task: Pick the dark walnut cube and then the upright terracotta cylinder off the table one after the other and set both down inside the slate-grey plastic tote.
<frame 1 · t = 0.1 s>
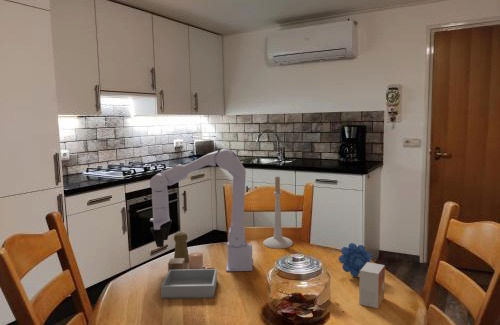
hand: (162, 243, 143), 10 cm above the table, fingers open, 7 cm apart
blue flower: (356, 278, 134), on the table
candlestick: (278, 244, 171), on the table
tote: (190, 289, 128), on the table
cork: (181, 261, 153), on the table
walnut cube: (176, 274, 140), on the table
small box: (371, 301, 118), on the table
terracotta cylinder: (196, 273, 140), on the table
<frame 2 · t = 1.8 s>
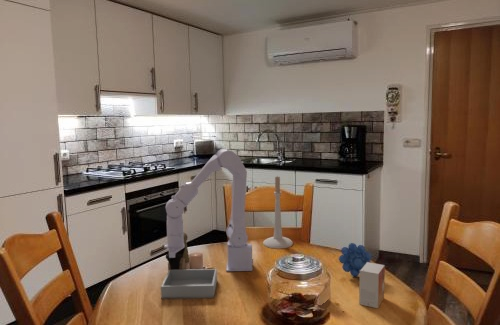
hand: (176, 270, 140), 1 cm above the table, fingers closed on walnut cube, 5 cm apart
walnut cube: (176, 273, 140), on the table, touching gripper
everything else where it was.
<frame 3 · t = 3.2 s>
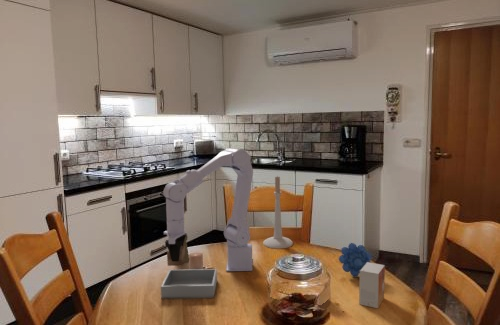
hand: (176, 257, 132), 8 cm above the table, fingers closed on walnut cube, 5 cm apart
walnut cube: (176, 262, 133), point 7 cm above the table, touching gripper
everything else where it was.
when the fingers open (3 cm above the table, at t = 5.0 s): walnut cube drops 1 cm, resting on tote.
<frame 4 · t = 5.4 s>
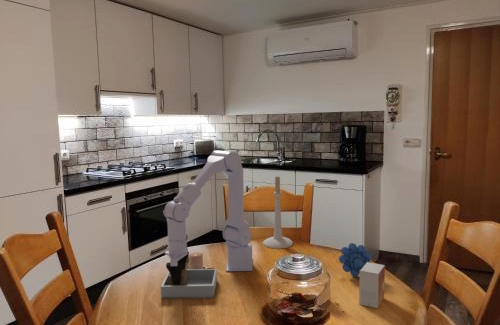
hand: (178, 279, 127), 3 cm above the table, fingers open, 7 cm apart
walnut cube: (178, 287, 128), point 1 cm above the table, touching tote
everything else where it was.
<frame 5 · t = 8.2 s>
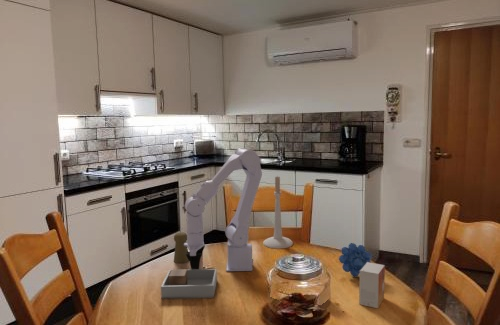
hand: (196, 268, 140), 2 cm above the table, fingers closed on terracotta cylinder, 5 cm apart
terracotta cylinder: (196, 273, 140), on the table, touching gripper
everything else where it was.
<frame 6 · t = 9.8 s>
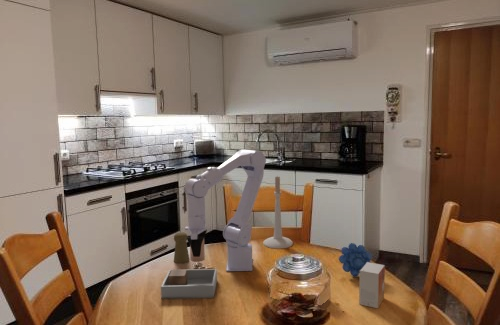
hand: (197, 253, 133), 9 cm above the table, fingers closed on terracotta cylinder, 5 cm apart
terracotta cylinder: (197, 259, 134), point 7 cm above the table, touching gripper
everything else where it was.
when the fingers open (4 cm above the table, at t = 11.8 s): terracotta cylinder drops 1 cm, resting on tote.
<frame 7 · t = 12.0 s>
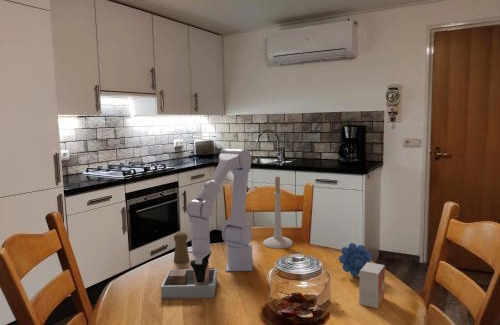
hand: (201, 277, 127), 4 cm above the table, fingers open, 7 cm apart
terracotta cylinder: (201, 286, 128), point 1 cm above the table, touching tote
everything else where it was.
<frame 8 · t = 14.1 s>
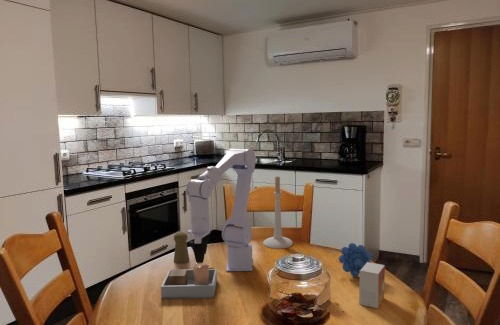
hand: (201, 258, 126), 10 cm above the table, fingers open, 7 cm apart
nothing on the table moved.
at the end: walnut cube inside the target area on the tote (3.9 cm from its centre), point 0.6 cm above the tote's base; terracotta cylinder inside the target area on the tote (3.6 cm from its centre), point 0.6 cm above the tote's base; the gripper is holding nothing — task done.
